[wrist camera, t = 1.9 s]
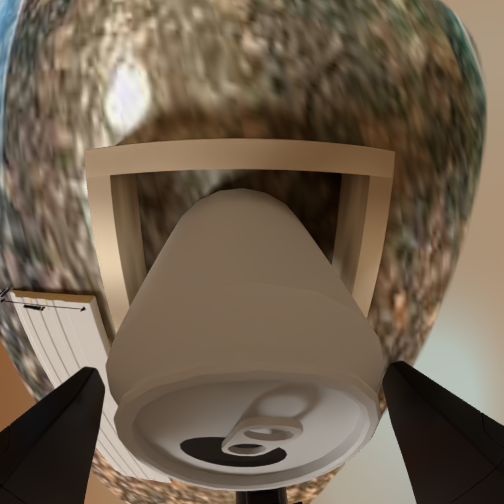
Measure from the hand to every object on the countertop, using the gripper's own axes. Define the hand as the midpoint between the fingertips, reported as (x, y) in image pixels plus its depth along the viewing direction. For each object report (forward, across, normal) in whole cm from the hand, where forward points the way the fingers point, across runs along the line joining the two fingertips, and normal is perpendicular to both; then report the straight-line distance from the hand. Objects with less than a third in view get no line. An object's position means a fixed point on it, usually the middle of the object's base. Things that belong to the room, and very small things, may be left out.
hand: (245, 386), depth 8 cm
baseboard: (+10, +14, +18) cm, 25 cm away
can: (+10, 0, 0) cm, 10 cm away
